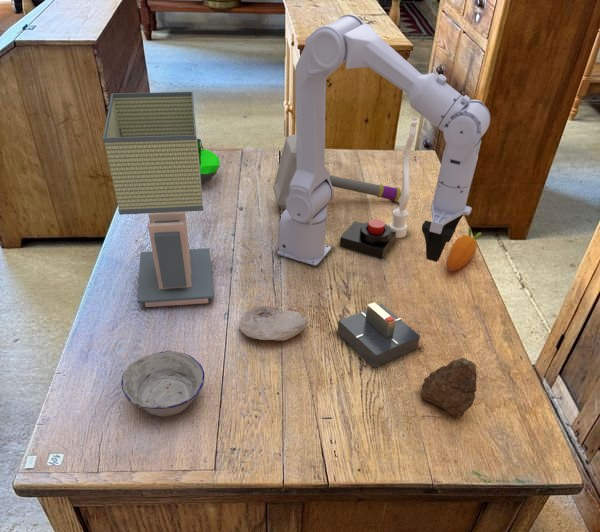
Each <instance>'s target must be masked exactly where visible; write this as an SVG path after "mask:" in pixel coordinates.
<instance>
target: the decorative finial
mask: <svg viewBox="0 0 600 532" xmlns="http://www.w3.org/2000/svg"><path fill="white" fill-rule="evenodd" d="M417 125H418V116H412V117H411V123H410V125H409V135H408V137H407V140H406V143H405V146H404V149H403V157H402V170H401V174H402V185H401V189H400V191H401V195H400V198H399V207H396V208H395V209H393V210H392V221H391V222H390V223H389V224H388V226H389V227H390V229H391V231H393V232H396V236H395V239H401V238H405V237H406V236H407V231H408V225H407V224H406V220H407V219H408V218H409V211H408V209H407V206H408V203H409V197H410V155H411V149H412V146H413V144H414V141H415V138H416V131H417Z"/></svg>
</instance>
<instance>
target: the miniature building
mask: <svg viewBox="0 0 600 532" xmlns="http://www.w3.org/2000/svg"><path fill="white" fill-rule="evenodd" d="M202 143H203V142H202V140H201V138H197V144H198V154H199V160H200V173H201V185H203V184H205V183H207V182H210V180H212V178H213V177H214V176H215V175H216V174H217V172H218V170H219V168H220V165H221V163H220V157H219V156H218V155H217V154H216V153H215V152H213V151H211V150H209V149H207V148H205V149H204V145H203V144H202Z"/></svg>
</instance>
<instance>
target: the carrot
mask: <svg viewBox="0 0 600 532" xmlns="http://www.w3.org/2000/svg"><path fill="white" fill-rule="evenodd" d="M467 230H468V231H467V232H468V235H467V234H464V235H462V236H460V237H457V238H456V239H455V241H454V242H453V244H452V246H451V247H450V251H449V252H448V256H447V261H446V267H447V270H448V271H450V272H453V271H456V270H459V269H461V268H463V267H464V266H466V265H467V264H468V263H469V262H470V260H471V259H472V258H473V257H474V256H475V254H476V251H477V248H478V243H477V242H476V240H477V239H479V238H480V237H481V236H482V232H477V233H476V234H475V235H474V236H472V228H470V227H468V228H467Z"/></svg>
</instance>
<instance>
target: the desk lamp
mask: <svg viewBox="0 0 600 532" xmlns="http://www.w3.org/2000/svg"><path fill="white" fill-rule="evenodd" d="M197 134H198V133H197V125H196V114H195V103H194V91H166V92H165V91H161V92H159V91H158V92H120V93H119V92H118V93H117V92H116V93H111V94H110V101H109V105H108V110H107V116H106V121H105V125H104V131H103V135H102V141H103V143H104V147H105V152H106V156H107V161H108V167H109V171H110V175H111V179H112V184H113V189H114V193H115V198H116V203H117V207H118V210H117V211H118V214H119V215H121V216H122V215H142V214H148V220H149V223H148V224H147V228H148V234H149V239H150V240H149V241H150V245H151V251H140V252H139V253H140V257H139V267H138V268H139V271H138V283H137V298H136V300H137V304H144V306H145V308H154V307H157V308H158V307H168V306H171V307H172V306H185V305H200V304H209V299H214V298H215V297H214V287H213V285H214V284H213V275H212V262H211V251H210V248H209V247H205V248H190V243H189V242H190V241H189V235H188V234H189V233H188V226H187V218H186V213H187V212H204V203H203V187H202V186H203V185H202V184H201V173H200V160H199V154H198V144H197V139H198V136H197Z"/></svg>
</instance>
